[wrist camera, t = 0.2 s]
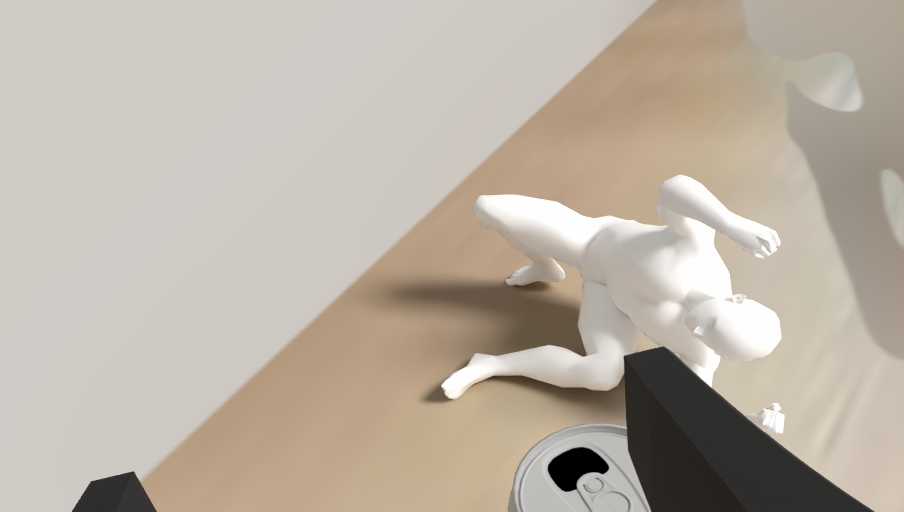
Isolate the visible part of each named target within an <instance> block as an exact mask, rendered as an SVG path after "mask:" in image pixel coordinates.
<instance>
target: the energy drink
mask: <svg viewBox="0 0 904 512" xmlns="http://www.w3.org/2000/svg"><path fill="white" fill-rule="evenodd" d="M508 512H651V510H650V507H649V505H648V502H647V500H646V497H645V495H644V492H643V489H642V487H641V484H640V482H639V479H638V476H637V474H636V471H635V468H634V466H633V463H632V460H631V458H630V455H629V452H628V443H627V427H625V426H620V425H615V424H603V423H593V424H582V425H577V426H573V427H568V428H565V429H562V430H560V431H557V432H555V433H553V434H551V435H549V436H547V437H546V438H544V439H542V440H541V441H539V442H538V443H537V444H536V445H535V446H534V447H533V448H531V449H530V450H529V451H528V452H527V454H526V455H525V457H524V458H523V459H522V461H521V462H520V464H519V466H518V469H517V471H516V473H515V477H514V483H513V488H512V490H511V493H510V498H509V504H508Z"/></svg>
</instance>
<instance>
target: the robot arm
mask: <svg viewBox="0 0 904 512" xmlns="http://www.w3.org/2000/svg"><path fill="white" fill-rule="evenodd" d="M624 376H625V398H626V421H627V443H628V452H629V455H630V458H631V460H632V463H633V466H634V468H635V471H636V474H637V476H638V479H639V482H640V484H641V487H642V489H643V492H644V495H645V497H646V500H647V502H648V505H649V507H650V510H651V512H874V511H873V510H871V509H870V508H868V507H867V506H865V505H864V504H862V503H861V502H859V501H858V500H856V499H855V498H853V497H852V496H850V495H849V494H847V493H846V492H844V491H843V490H841V489H840V488H839V487H837V486H836V485H834V484H833V483H832V482H830V481H829V480H827V479H826V478H825V477H823V476H822V475H820V474H819V473H818V472H816V471H815V470H813V469H812V468H811V467H809V466H808V465H806V464H805V463H804V462H803V461H801V460H800V459H799V458H797V457H796V456H795V455H793V454H792V453H791V452H789V451H788V450H787V449H785V448H784V447H783V446H782V445H780V444H779V443H778V442H777V441H775V440H774V439H773V438H771V437H770V436H769V435H768V434H766V433H765V432H764V431H763V430H761V429H760V428H759V427H758V426H756V425H755V424H754V423H753V422H751V421H750V420H749V419H748V418H746V417H745V416H744V415H743V414H742V413H740V412H739V411H738V410H737V409H736V408H735V407H733V406H732V405H731V404H730V403H729V402H728V401H726V400H725V399H724V398H723V397H722V396H721V395H719V394H718V393H717V392H716V391H715V390H714V389H712V388H711V387H710V386H709V385H708V384H707V383H706V382H705V381H703V380H702V379H701V378H700V377H699V376H698V375H697V374H696V373H695V372H693V371H692V370H691V369H690V368H689V367H688V366H687V365H686V364H685V363H684V362H682V361H681V360H680V359H679V358H678V357H677V356H676V355H675V354H674V353H673V352H672V351H670V350H669V349H667V348H666V347H664V346H663V347H659V348H654V349H650V350H646V351H642V352H637V353H633V354H629V355H625V356H624ZM72 512H157V511H156V510H155V508H154V506H153V504H152V502H151V501H150V499H149V497H148V495H147V494H146V492H145V490H144V488H143V487H142V485H141V483H140V481H139V480H138V478H137V476H136V475H135V473H134V472H129V473H125V474H121V475H116V476H112V477H108V478H104V479H100V480H96V481H91V483H90V484H89V486H88V487H87V489H86V490H85V492H84V493H83V495H82V496H81V498H80V500H79V501H78V503H77V504H76V506H75V508H74V509H73V511H72Z"/></svg>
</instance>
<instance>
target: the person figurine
mask: <svg viewBox="0 0 904 512" xmlns="http://www.w3.org/2000/svg"><path fill="white" fill-rule="evenodd" d="M659 192H660V197H659V199H658V201H657V208H656V215H657V216H659V217H660V218H661V219H662V220H663V221H665V222H666V223H667V224H668V225H665V226H653V225H646V224H640V223H638V222H636V221H634V220H623V219H620V218H616V217H613V216H604V217H599V218H590V217H585V216H582V215H580V214H578V213H576V212H574V211H573V210H571V209H569V208H567V207H565V206H563V205H561V204H560V203H558V202H554V201H548V200H543V199H537V198H532V197H526V196H520V195H515V194H514V195H480V196H479V197H478V198H477V199H476V201H475V203H474V205H473V207H472V208H473V210H474V212H475V214H476V216H477V218H478V220H479V221H480V223H481V224H482V225H483V226H484V227H486V228H489V229H493V230H496V231H497V232H498V233H500V234H501V235H502V236H503V237H504V238H505V239H506V240H507V241H508V243H509V244H510V245H511V246H512V247H513V248H515V249H517V250H519V251H520V252H522V253H523V254H525V255H526V256H527V257H528V258H530V259H531V260H532V261H533V264H532V265H530V266H525V267H523V268H522V269H519V270H518V271H515V272H514V273H513V275H512V276H511V277H510V279H507V280H506V284H508V285H510V286H513V285H519V286H524V285H527V284H530V283H533V282H535V281H547V282H559V281H560V280H562V279H564V278H565V273H564V271H563V269H562V268H561V267H560V266H559V265H558V264H557V263H556V262H555V261H554V259H556V260H558V261H561V262H563V263H566V264H569V265H571V266H574V267H576V268H579V269H580V276H581V277H582V278H584V280H583V284H582V299H581V307H580V314H579V321H578V328H579V331H580V335H581V338H582V341H583V344H584V348H585V351H586V354H587V356H585V357H582V356H580V355H578V354H576V353H574V352H572V351H570V350H568V349H566V348H562V347H558V346H553V345H546V346H541V347H537V348H532V349H527V350H523V351H518V352H513V353H509V354H504V355H499V356H493V355H486V354H479V353H475V354H474V356H473V357H472V359H471V360H470V362H469V363H468V365H467V366H466V367H465V368H462V369H460V370H458V371H456V372H454V373H452V374H451V375H450V376H449V378H448V379H447V380H446V381H445V382H444V383H443V384H442V386H441V387H442V389H443V391H444V394H445V395H446V396H447V398H450V399H452V400H454V399H459V398H460V397H461V396H462V394H463V393H464V392H465V391H466V390H467V389H468V388H469V387H471V386H472V385H473V384H475V383H477V382H479V381H482V380H484V379H486V378H489V377H491V376H512V375H523V376H526V377H529V378H533V379H536V380H539V381H543V382H546V383H549V384H553V385H556V386H559V387H585V388H588V389H590V390H602V391H608V390H610V389H612V388H614V387H616V386H617V385H618V384H619V382H620V380H621V378H622V376H623V374H624V356H625V355H629V354H633V353H635V352H636V349H637V347H638V334H639V330H640V331H641V332H642V333H643V334H644V335H645V336H647V337H648V338H649V339H651V340H652V341H653V342H655V343H656V344H657V345H659V346H660V347H663V346H664V347H666V348H667V349H669V350H670V351H672V352H673V353H677V354H679V357H680V360H681V361H682V362H684V363H685V364H686V365H687V366H688V367H689V368H690V369H691V370H692V371H693V372H695V373H696V374H697V375H698V376H699V377H700V378H701V379H702V380H703V381H705V382H706V383H707V384H708V385H709V386H710V387H711V384H712V376H713V372H714V371H715V369H716V368H717V367H718V365H719V361H720V357H724V358H727V359H729V360H732V361H742V362H743V361H750V360H758V359H760V358H762V357H764V356H766V355H768V354H770V353H771V352H772V350H773V349H774V348H775V347H776V345H777V344H778V342H779V341H780V340H781V332H780V323H779V319H778V317H777V315H776V314H775V312H773V311H771V310H770V309H768V308H766V307H764V306H763V305H761V304H759V303H757V302H755V301H753V300H746V296H745V295H743V294H737V295H732V292H731V284H730V276H729V272H728V270H727V268H726V267H725V265H724V263H723V261H722V260H721V258H720V256H719V254H718V253H717V251H716V249H715V248H714V241H713V240H714V235H715V230H716V231H718V232H720V233H722V234H724V235H726V236H728V237H729V238H730V239H731V240H732V241H733V242H734V243H735V244H736V245H737V246H738V247H739V248H741V249H743V250H745V251H747V252H749V253H751V254H753V255H755V256H756V257H758V258H760V259H762V258H764V256H767V257H768V256H769V255H771V253H774V252H775V251H776V250H777V249H776V247H775V246H780V243H781V242H780V240H779V238H778V236H777V233H776V231H774V230H772V229H769V228H767V227H765V226H763V225H760V224H758V223H756V222H753V221H750V220H747V219H745V218H742V217H740V216H737V215H735V214H733V213H731V212H729V211H728V210H727V209H726V208H725V207H724V206H723V205H722V204H721V203H720V202H719V201H718V200H717V199H716V198H715V197H714V196H713V195H712V194H711V193H710V192H709V191H708V190H707V189H706V188H705V187H704V186H703V185H702V184H701V183H699V182H697V181H695V180H693V179H692V178H690V177H687V176H683V175H678V176H676V177H673V178H671V179H669V180H666V181H664V182H663V183H661V185H660V187H659ZM771 405H772V406H771V407H769V408H767V409H765V408H764V409H762V410H761V412H760V413H759V414H753V413H751V414H749V415H746V416H745V417H746V418H748V419H749V420H750V421H751V422H753V423H754V424H755V425H756V426H758V427H759V428H760V429H761V430H763V431H764V432H767V433H775V434H776V433H783V425H784V416H785V415H782V414H780V413H778V412H779V410H780V409H781V408H780V406H779V404H775V403H773V404H771Z"/></svg>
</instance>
